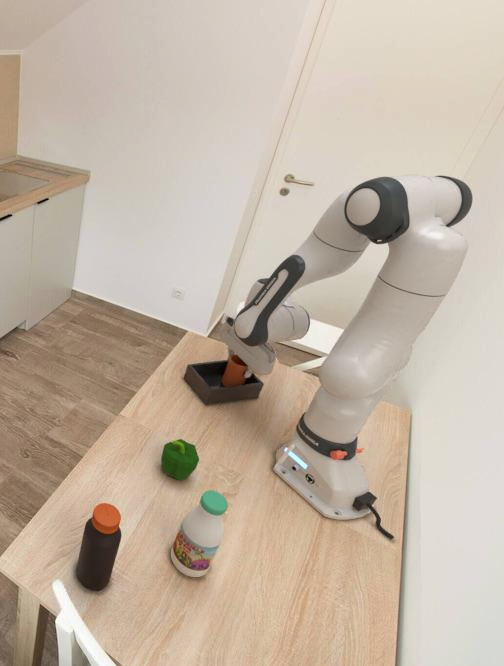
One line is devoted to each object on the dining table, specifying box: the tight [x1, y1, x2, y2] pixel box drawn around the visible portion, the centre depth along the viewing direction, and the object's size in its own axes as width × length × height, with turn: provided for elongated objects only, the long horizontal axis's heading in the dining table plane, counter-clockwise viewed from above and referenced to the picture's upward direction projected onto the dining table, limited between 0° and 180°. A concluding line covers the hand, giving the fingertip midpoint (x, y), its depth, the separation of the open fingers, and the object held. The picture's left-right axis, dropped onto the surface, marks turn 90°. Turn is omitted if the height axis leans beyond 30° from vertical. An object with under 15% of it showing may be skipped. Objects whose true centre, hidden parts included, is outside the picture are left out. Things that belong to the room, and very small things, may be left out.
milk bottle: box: [170, 490, 229, 578], centre depth 93 cm, size 8×8×20 cm
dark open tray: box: [183, 359, 265, 406], centre depth 144 cm, size 13×18×6 cm
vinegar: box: [75, 502, 123, 592], centre depth 90 cm, size 7×7×20 cm
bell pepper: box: [160, 438, 200, 481], centre depth 115 cm, size 8×8×10 cm
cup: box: [222, 354, 249, 387], centre depth 143 cm, size 6×6×9 cm
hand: (238, 368), depth 143 cm, fingers closed on cup, 6 cm apart
